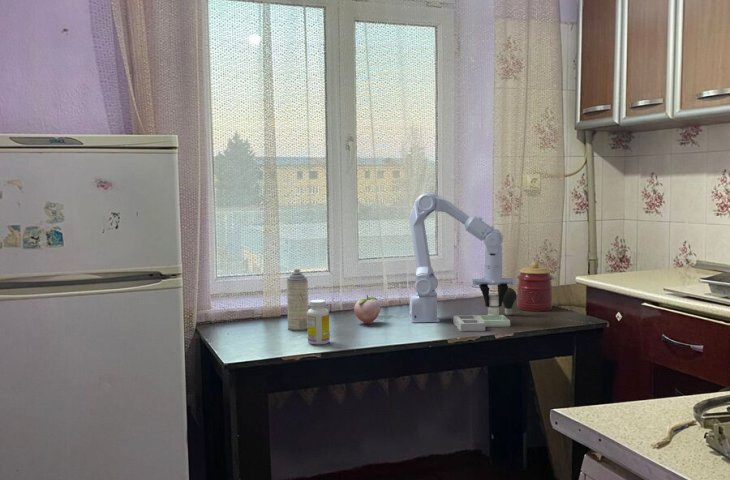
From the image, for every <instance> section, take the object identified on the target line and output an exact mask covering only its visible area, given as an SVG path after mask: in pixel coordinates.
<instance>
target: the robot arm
mask: <svg viewBox="0 0 730 480" xmlns="http://www.w3.org/2000/svg"><path fill="white" fill-rule="evenodd" d="M433 212H437V213H439V212H440V213H445V214H447V215H449V216H451V217H452V218H453V219H456V221H458V222H459V223H461V224H463V225H464V227H465V231H467V232H468V233H469V234H470V235H472V236H474V237H475V238H476V239H478V240H480V241H483V243H484V246H485V252H484V278H471V286H472V287H473V286H478V287H479V289H480V291H481V293H482V295H483V300H484V304H485V307H486V308H488V307H489V295H490V287H489V286H497V295H499V308H500V307H502V306H503V302H502V301H503V298H504V295H505V293H506V291H507V289H508V288H509V285H512V286H514V285H515V286H517V285H516V284H517V283H516V278H515V277H512V278H511V277H503V245H502V244H503V241H504V235H503V234H502V232H501V231H500V230H499V229H496V228H495V227H494V226H493V225H489V224H488V223H486V222H485V221H484V220H483V217H481V216H479V217H478V216H470V215H468V214H467V213H466V212H464V211H463V210H461V209H460V208H459V207H457V206H456V204H453V203H452V202H451V201H449V200H448V199H446V198H444V197H443V196H440V195H438V193H435V192H427V193H426V192H425V193H421V195H419V196H418V198H416V199H415V200H414V204H413V206H412V209H411V211H410V213H409V217H408V220H409V221H408V222H409V228H410V229H409V230H410V233H411V241H412V246H413V247H412V248H413V252H414V258H415V265H416V270H415V271H416V272H415V282H414V290H415V291H416V292H415V294H413V295H412V294H410V296H409V313H408V314H409V319H410V321H411V323H440V322H441V321H440V319H439V317H438V313H437V312H438V293H437V292H436V289H437V288H438V286H439V280H438V279H437V277H436V275H435V272H434V269H433V267H432V263H431V257H430V252H429V246H428V245H429V244H428V238H427V232H426V231H427V230H426V224H425V221H426V220H427V218H428V217H429V216H430V215H431V213H433ZM494 228H495V229H494Z"/></svg>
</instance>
